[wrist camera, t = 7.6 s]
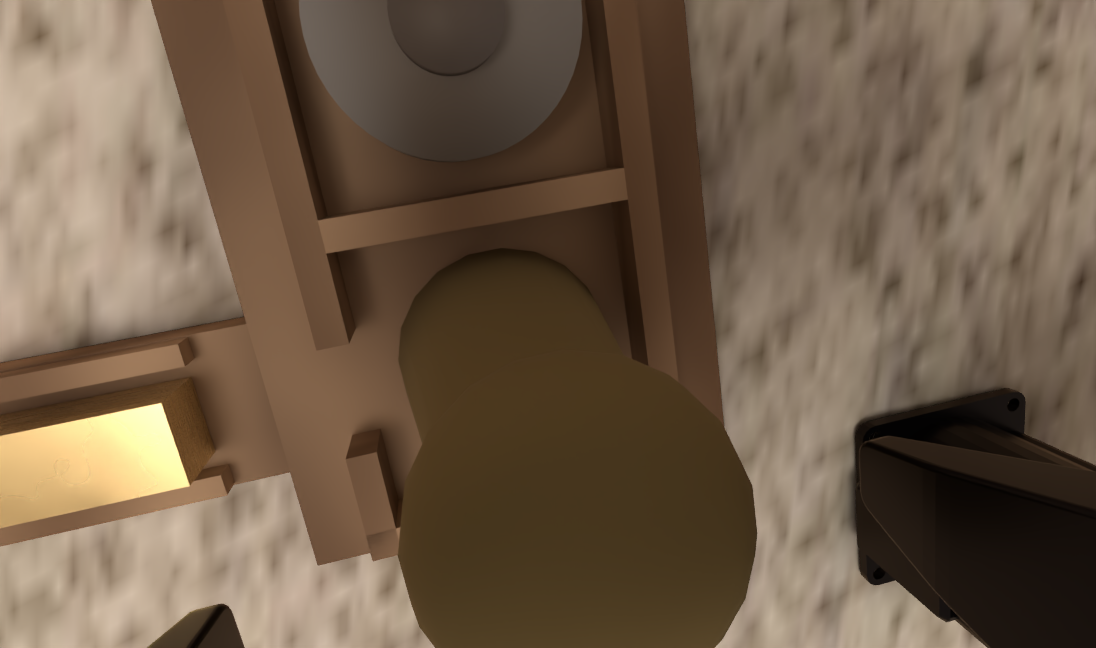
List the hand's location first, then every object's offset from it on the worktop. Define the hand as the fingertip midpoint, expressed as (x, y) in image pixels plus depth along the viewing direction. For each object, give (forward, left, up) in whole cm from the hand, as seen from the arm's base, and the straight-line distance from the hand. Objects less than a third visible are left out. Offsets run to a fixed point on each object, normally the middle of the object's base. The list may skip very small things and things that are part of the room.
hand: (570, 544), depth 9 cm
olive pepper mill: (0, 0, -10) cm, 10 cm away
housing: (+4, -4, -11) cm, 13 cm away
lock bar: (+11, 0, -10) cm, 15 cm away
